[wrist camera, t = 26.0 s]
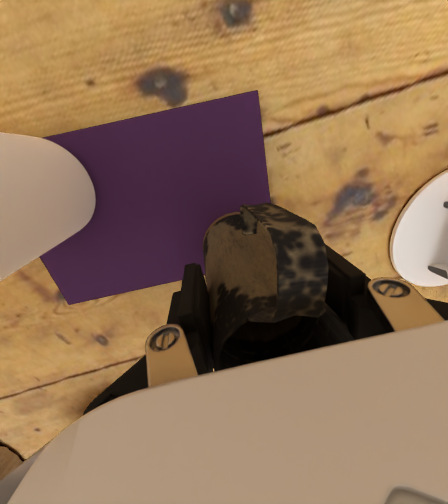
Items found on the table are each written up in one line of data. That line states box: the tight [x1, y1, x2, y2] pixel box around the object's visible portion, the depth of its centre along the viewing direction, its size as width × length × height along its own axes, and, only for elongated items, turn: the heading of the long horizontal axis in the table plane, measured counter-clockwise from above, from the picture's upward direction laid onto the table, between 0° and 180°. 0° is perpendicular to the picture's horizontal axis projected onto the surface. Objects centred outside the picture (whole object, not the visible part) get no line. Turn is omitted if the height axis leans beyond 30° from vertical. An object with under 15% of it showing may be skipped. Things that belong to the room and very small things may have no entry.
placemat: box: [39, 90, 271, 305], centre depth 17 cm, size 18×12×1 cm, turn 101°
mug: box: [203, 202, 351, 371], centre depth 12 cm, size 8×6×12 cm
